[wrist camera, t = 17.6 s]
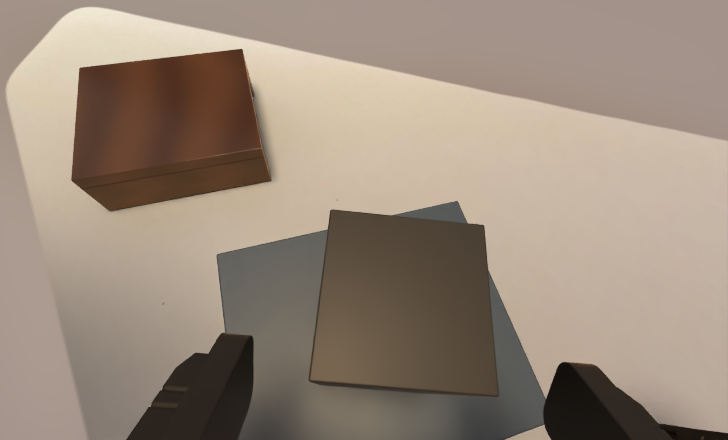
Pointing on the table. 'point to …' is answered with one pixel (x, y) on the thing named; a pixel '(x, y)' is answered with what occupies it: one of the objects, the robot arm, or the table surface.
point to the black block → (404, 307)
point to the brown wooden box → (166, 129)
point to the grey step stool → (344, 404)
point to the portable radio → (692, 433)
